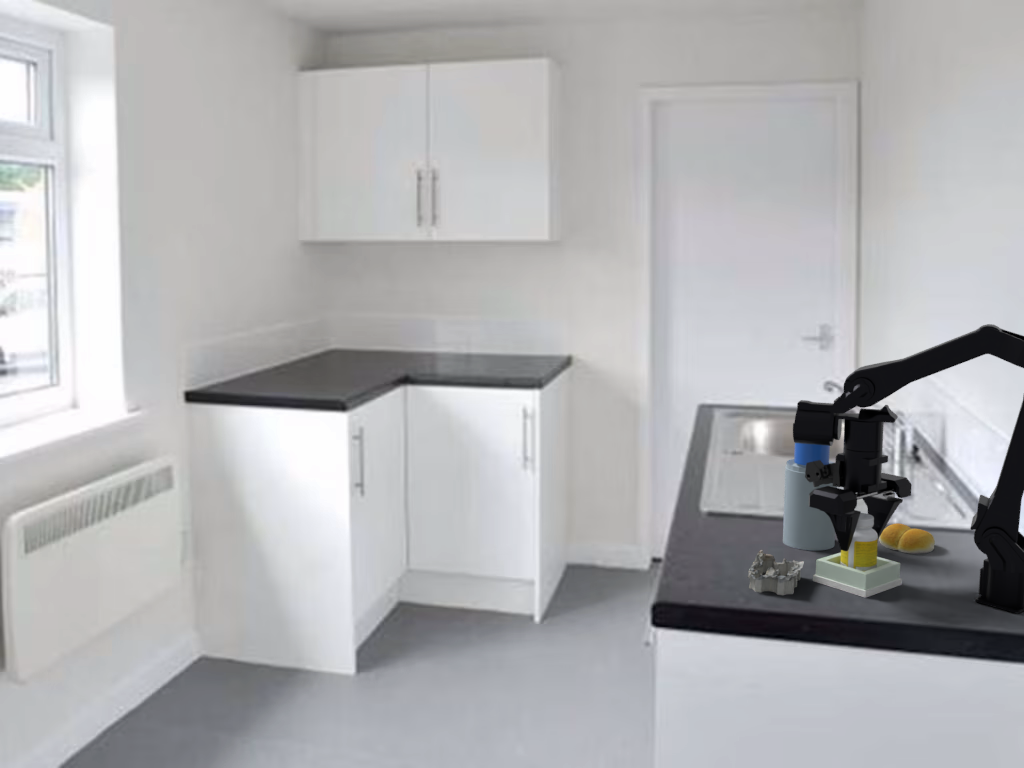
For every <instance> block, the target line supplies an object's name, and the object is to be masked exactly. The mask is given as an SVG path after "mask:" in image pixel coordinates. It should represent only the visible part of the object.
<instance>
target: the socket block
mask: <svg viewBox="0 0 1024 768" xmlns="http://www.w3.org/2000/svg"><path fill="white" fill-rule="evenodd" d="M840 564H841V551H840V552H838V553H834V554H830V555H828V556H824V557H821V558H818V559H816V560H815V574H813V575H812V581H813V582H815V583H818V584H821V585H825V586H828V587H830V588H834V589H835V590H840V591H842V592H846V593H848V594H852V595H856V596H859V597H862V598H868V597H869V598H870V597H871V596H874V595H876V594H880V593H882V592H886V591H888V590H891V589H893V588H897V587H899V586H902V584H903V583H902V582H903V578H902V577H901V576H900V575H901V563H900V562H897V561H894V560H891V559H887V558H884V557H880V556H877V567H876V568H873V569H870V570H867V571H860V570H857V569H854V568H850V567H847V566H843V565H840ZM900 577H901V578H900Z"/></svg>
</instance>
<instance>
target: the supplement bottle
mask: <svg viewBox="0 0 1024 768" xmlns="http://www.w3.org/2000/svg"><path fill="white" fill-rule="evenodd" d="M873 525H874V517H873V516H872V515H870V514H868V513H867V512H866V513H864V512H861V513H860V516H859V519H858V523H857V526H856V529H855V532H854V535H853V539H852V542H851V544H850V547H849V550H848V551H843V550H841V549H840V552H841V564H840V565H843V566H847V567H850V568H854V569H857V570H860V571H867V570H870V569H873V568H876V567H877V557H878V547H879V546H878V545H879V544H878V543H879V542H878V541H879V539H878V534H877V532H876V531H875V530H874V529H872V527H873Z"/></svg>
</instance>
